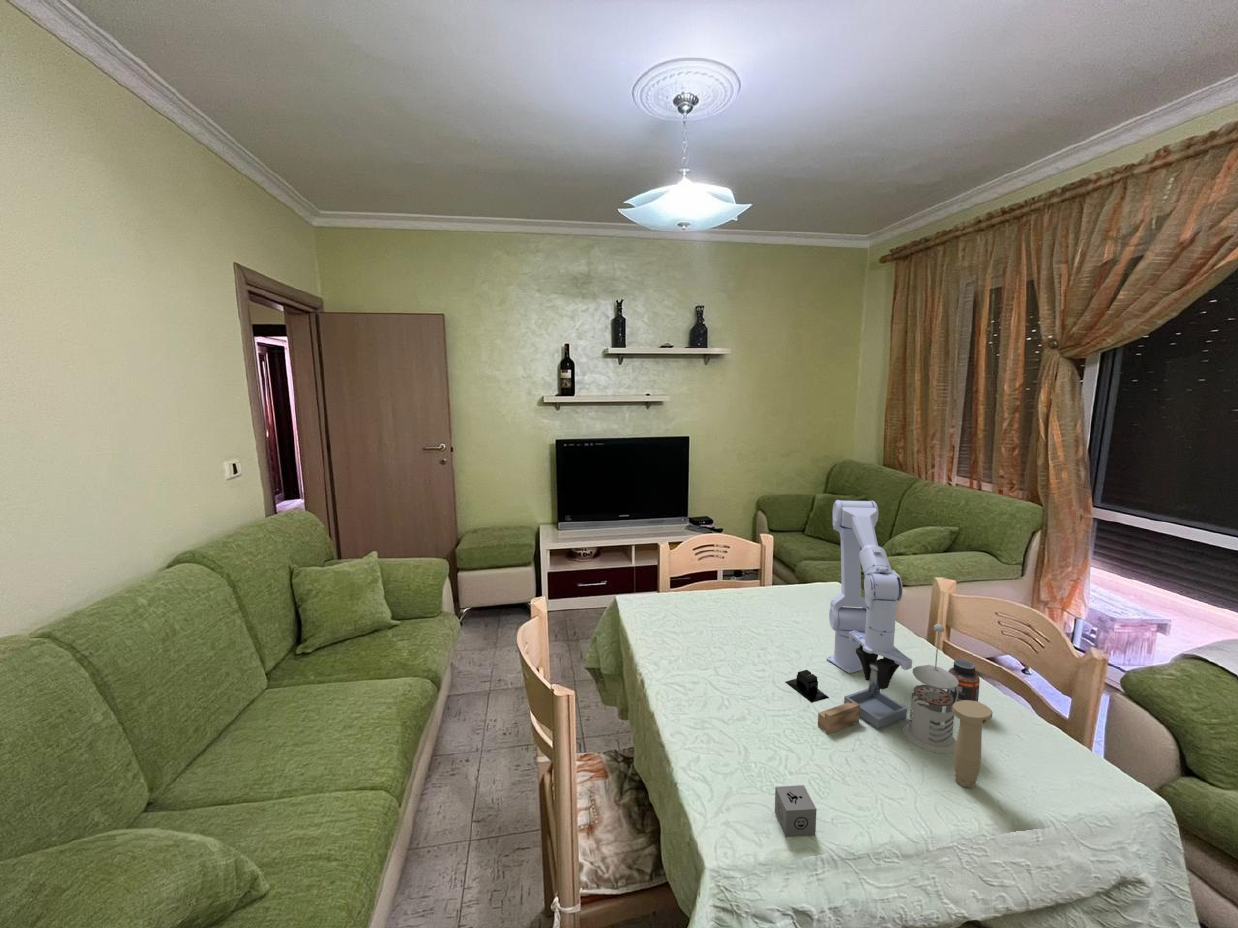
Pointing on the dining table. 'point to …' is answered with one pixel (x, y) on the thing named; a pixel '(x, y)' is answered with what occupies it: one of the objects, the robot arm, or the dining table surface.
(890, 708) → the tray
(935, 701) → the french press
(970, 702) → the handle
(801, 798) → the dice cube
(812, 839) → the dining table surface
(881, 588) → the robot arm
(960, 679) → the supplement bottle
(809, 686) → the build plate
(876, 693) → the pin
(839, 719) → the bar
